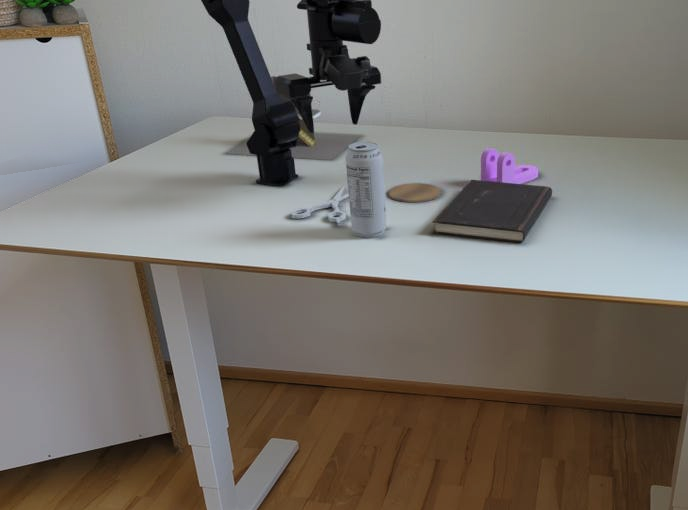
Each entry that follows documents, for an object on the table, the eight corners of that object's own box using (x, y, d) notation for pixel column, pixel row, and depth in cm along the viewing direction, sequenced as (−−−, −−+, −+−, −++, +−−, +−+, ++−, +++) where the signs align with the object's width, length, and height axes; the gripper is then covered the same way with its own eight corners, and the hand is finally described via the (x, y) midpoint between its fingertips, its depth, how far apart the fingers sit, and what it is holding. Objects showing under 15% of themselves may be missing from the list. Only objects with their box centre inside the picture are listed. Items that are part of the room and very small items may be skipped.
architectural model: (331, 159, 173) (325, 90, 166) (225, 153, 178) (214, 86, 170) (360, 135, 190) (355, 71, 182) (262, 130, 194) (254, 67, 187)
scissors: (284, 217, 141) (330, 181, 158) (285, 221, 142) (330, 184, 158) (340, 222, 139) (380, 185, 155) (340, 226, 139) (380, 189, 156)
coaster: (380, 198, 152) (380, 196, 151) (401, 182, 160) (401, 180, 159) (428, 204, 149) (428, 202, 148) (448, 188, 157) (448, 186, 156)
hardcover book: (433, 233, 136) (432, 220, 135) (471, 190, 155) (471, 179, 154) (523, 243, 132) (524, 230, 131) (551, 198, 151) (552, 186, 150)
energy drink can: (394, 231, 137) (389, 145, 130) (367, 241, 134) (361, 153, 126) (371, 223, 141) (365, 138, 133) (344, 232, 137) (337, 146, 129)
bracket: (501, 191, 155) (502, 155, 151) (480, 184, 158) (481, 150, 155) (543, 175, 163) (544, 141, 160) (522, 169, 166) (523, 136, 163)
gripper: (300, 51, 128) (310, 147, 136) (396, 39, 138) (399, 129, 146) (269, 41, 136) (280, 133, 144) (362, 30, 146) (367, 116, 154)
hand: (333, 128), depth 147 cm, fingers open, 9 cm apart
